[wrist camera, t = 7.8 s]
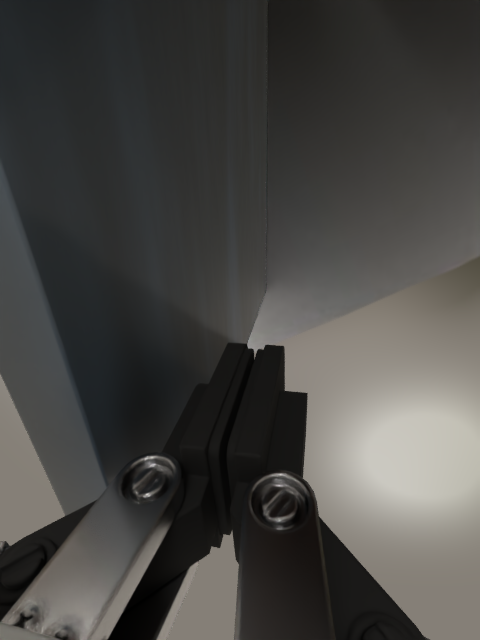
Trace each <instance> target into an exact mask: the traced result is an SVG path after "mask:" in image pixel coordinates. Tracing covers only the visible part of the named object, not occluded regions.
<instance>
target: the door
mask: <svg viewBox="0 0 480 640" xmlns="http://www.w3.org/2000/svg"><path fill="white" fill-rule="evenodd" d="M267 26H268V0H0V374H1V376H2V379H3V381H4V383H5V385H6V387H7V390H8V392H9V394H10V396H11V398H12V401H13V403H14V405H15V407H16V409H17V411H18V413H19V416H20V418H21V420H22V422H23V424H24V426H25V429H26V431H27V433H28V435H29V438H30V440H31V442H32V444H33V446H34V448H35V451H36V453H37V455H38V457H39V459H40V461H41V464H42V466H43V468H44V470H45V472H46V475H47V477H48V479H49V481H50V483H51V485H52V488H53V490H54V492H55V494H56V496H57V498H58V501H59V503H60V505H61V507H62V509H63V511H64V514H65V516H67V515H69V514H71V513H72V512H74V511H76V510H78V509H80V508H82V507H84V506H86V505H88V504H90V503H92V502H94V501H96V500H98V498H99V497H100V496H101V495H102V493H103V492H104V491H105V489H106V488H107V487H108V486H109V484H110V483H111V482H112V481H113V479H114V478H115V477H116V476H117V474H118V473H119V472H120V471H121V469H122V468H123V467H124V466H125V465H126V464H127V463H128V462H130V461H132V460H133V459H135V458H136V457H138V456H141V455H144V454H146V453H153V452H162V451H163V449H164V447H165V445H166V443H167V441H168V439H169V437H170V435H171V433H172V431H173V429H174V427H175V425H176V423H177V422H178V420H179V418H180V416H181V414H182V412H183V410H184V408H185V406H186V404H187V402H188V400H189V398H190V396H191V394H192V393H193V391H194V389H195V387H196V386H197V384H199V383H204V384H209V382H210V379H211V377H212V375H213V373H214V371H215V369H216V367H217V365H218V362H219V360H220V358H221V356H222V354H223V352H224V350H225V348H226V346H227V344H228V343H244V344H247V342H248V340H249V337H250V334H251V331H252V329H253V326H254V323H255V320H256V318H257V315H258V312H259V309H260V307H261V304H262V301H263V299H264V296H265V293H266V218H267Z"/></svg>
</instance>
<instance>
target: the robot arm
mask: <svg viewBox="0 0 480 640" xmlns="http://www.w3.org/2000/svg"><path fill="white" fill-rule="evenodd" d="M284 355H285V354H284V346H275V345H265V347H264V350H262V349H258V350H257V353H256V357H255V360H254V350H253V349H248V346H247V344H244V343H228V344H227V346H226V348H225V350H224V352H223V354H222V356H221V358H220V360H219V362H218V365H217V367H216V369H215V371H214V373H213V375H212V377H211V379H210V382H209V384H204V383H199V384H197V386H196V387H195V389H194V391H193V393H192V394H191V396H190V398H189V400H188V402H187V404H186V406H185V408H184V410H183V412H182V414H181V416H180V418H179V420H178V422H177V423H176V425H175V427H174V429H173V431H172V433H171V435H170V437H169V439H168V441H167V443H166V445H165V447H164V449H163V451H162V452H153V453H146V454H144V455H141V456H138V457H136V458H135V459H133V460H132V461H130V462H128V463H127V464H126V465H125V466H124V467H123V468H122V469H121V471H120V472H119V473H118V474H117V476H116V477H115V478H114V479H113V481H112V482H111V483H110V484H109V486H108V487H107V488H106V489H105V491H104V492H103V493H102V495H101V496H100V497H99V498H98V500H96V501H94V502H92V503H90V504H88V505H86V506H84V507H82V508H80V509H78V510H76V511H74V512H72V513H71V514H69V515H67V516H65V517H63V518H61V519H59V520H57V521H55V522H53V523H51V524H49V525H47V526H45V527H44V528H42V529H40V530H38V531H36V532H34V533H32V534H30V535H28V536H26V537H24V538H23V539H21V540H19V541H18V542H17V543H15V544H13V545H12V546H9V545H8V543H7V542H6V541H1V542H0V640H167V638H168V635H169V633H170V631H171V629H172V626H173V624H174V621H175V619H176V617H177V614H178V612H179V610H180V608H181V606H182V603H183V601H184V599H185V597H186V594H187V592H188V590H189V588H190V585H191V583H192V581H193V578H194V576H195V574H196V571H197V567H198V564H199V560H201V559H202V558H203V557H205V556H206V555H208V554H209V553H210V549H211V546H213V547H217V548H220V546H221V542H222V538H223V534H226V535H230V534H231V531H233V539H234V548H235V556H236V560H237V562H238V564H239V571H238V587H237V602H236V618H235V634H234V640H430V639H427V638H426V637H424V636H423V635H422V634H421V632H420V631H419V629H418V628H417V627H416V625H415V624H414V623H413V622H412V621H411V620H410V619H409V618H408V617H407V615H406V614H405V613H404V612H403V611H402V610H401V609H400V608H399V606H398V605H397V604H396V603H395V602H394V601H393V600H392V598H391V597H390V596H389V595H388V594H387V593H386V592H385V590H383V588H382V587H381V586H380V585H379V584H378V583H377V581H376V580H374V578H373V577H372V576H371V575H370V574H369V572H368V571H367V570H366V569H365V568H364V567H363V566H362V565H361V563H360V562H359V561H358V560H357V559H356V558H355V557H354V556H353V554H352V553H351V552H350V551H349V550H348V549H347V548H346V547H345V546H344V544H343V543H342V542H341V541H340V540H339V539H338V537H337V536H336V535H335V534H334V533H333V532H332V531H331V530H330V529H329V527H328V526H327V525H326V524H325V523H324V522H323V521H322V519H321V518H320V517H319V514H318V508H317V501H316V498H315V494H314V491H313V490H312V488H311V487H310V485H309V484H308V482H307V481H305V480H304V479H303V467H304V452H305V437H306V418H307V416H306V415H307V393H300V392H289V391H285V390H284V389H285V385H284V384H285V379H284V378H285V376H284V372H285V367H284V366H285V361H284V360H285V359H284V358H285V356H284Z"/></svg>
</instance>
